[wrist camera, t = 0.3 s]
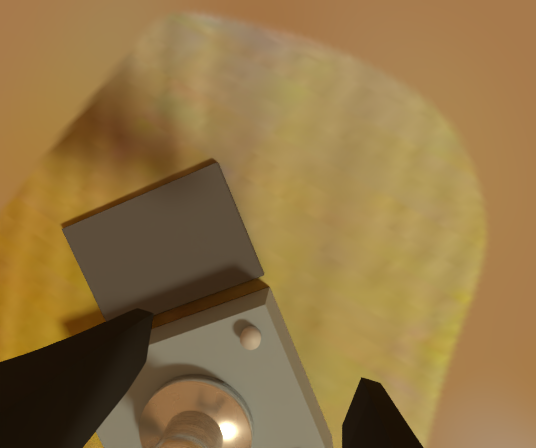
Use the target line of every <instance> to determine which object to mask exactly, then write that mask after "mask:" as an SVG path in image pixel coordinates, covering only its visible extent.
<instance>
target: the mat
mask: <svg viewBox="0 0 536 448" xmlns="http://www.w3.org/2000/svg"><path fill="white" fill-rule="evenodd" d="M62 231H63V233H64V235H65V237H66V239H67V241H68V243H69V245H70V248H71V250H72V252H73V254H74V256H75V258H76V260H77V262H78V264H79V266H80V268H81V270H82V273H83V275H84V277H85V279H86V281H87V283H88V285H89V287H90V289H91V291H92V293H93V295H94V298H95V300H96V302H97V304H98V306H99V308H100V310H101V312H102V314H103V316H104V318H105V320H106V321H109V320H111V319H113V318H115V317H117V316H120V315H122V314H124V313H126V312H129V311H131V310H134V309H136V308H139V309H142V310H145V311H149V312H152V313H154V315H156V314H159V313H162V312H164V311H167V310H170V309H173V308H175V307H178V306H181V305H184V304H186V303H189V302H192V301H195V300H197V299H200V298H203V297H205V296H208V295H211V294H214V293H216V292H219V291H222V290H225V289H227V288H230V287H233V286H236V285H238V284H241V283H244V282H247V281H249V280H252V279H255V278H258V277H260V276H263V275H264V272H263V269H262V267H261V265H260V262H259V260H258V257H257V255H256V253H255V250H254V248H253V245H252V243H251V241H250V238H249V236H248V233H247V231H246V228H245V226H244V224H243V221H242V219H241V216H240V214H239V212H238V209H237V207H236V204H235V202H234V200H233V197H232V195H231V192H230V190H229V187H228V185H227V183H226V180H225V178H224V175H223V173H222V171H221V168H220V166H219V163H217V162H216V163H214V164H212V165H209V166H207V167H205V168H202V169H200V170H198V171H195V172H193V173H191V174H189V175H186V176H184V177H182V178H179V179H177V180H175V181H172V182H170V183H168V184H165V185H163V186H161V187H158V188H156V189H154V190H151V191H149V192H147V193H144V194H142V195H140V196H138V197H135V198H133V199H131V200H128V201H126V202H124V203H121V204H119V205H117V206H114V207H112V208H110V209H107V210H105V211H103V212H100V213H98V214H96V215H93V216H91V217H89V218H87V219H84V220H82V221H80V222H77V223H75V224H73V225H70V226H68V227H66V228H63V229H62Z"/></svg>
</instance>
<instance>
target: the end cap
mask: <svg viewBox="0 0 536 448" xmlns="http://www.w3.org/2000/svg"><path fill="white" fill-rule="evenodd" d="M253 432H254V425H253V418H252V414H251V412H250V409H249V407H248V405H247V403H246V402H245V400H244V399H243V397H242V396H241V395H240V394H239V393H238V392H237V391H236V390H235V389H234V388H233V387H231V386H230V385H229V384H227V383H226V382H224V381H222V380H220V379H218V378H215V377H212V376H208V375H204V374H184V375H180V376H177V377H174V378H172V379H170V380H168V381H166V382H165V383H164V384H162V385H161V386H160V387H159V388H158V389H157V390H156V391H155V393H154V394H153V396H152V397H151V399H150V400H149V402H148V403H147V405H146V406H145V408H144V410H143V412H142V414H141V418H140V422H139V437H140V442H141V446H142V448H251V446H252V440H253Z"/></svg>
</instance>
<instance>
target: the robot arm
mask: <svg viewBox="0 0 536 448" xmlns="http://www.w3.org/2000/svg"><path fill="white" fill-rule="evenodd" d="M153 315H154V313H152V312H149V311H145V310H142V309H139V308H136V309H134V310H131V311H129V312H126V313H124V314H122V315H120V316H117V317H115V318H113V319H111V320H109V321H106V322H104V323H102V324H99V325H97V326H95V327H93V328H90V329H88V330H86V331H83V332H81V333H79V334H76V335H74V336H71V337H69V338H66V339H64V340H61V341H59V342H56V343H53V344H51V345H48V346H46V347H43V348H41V349H38V350H35V351H32V352H30V353H27V354H24V355H21V356H18V357H15V358H12V359H9V360H5V361H2V362H0V448H83V447H84V445H85V444H86V443H87V442H88V440H89V439H90V438H91V437H92V435H93V434H94V433H95V432H96V430H97V429H98V428H99V427H100V425H101V424H102V423H103V422H104V420H105V419H106V418H107V417H108V415H109V414H110V413H111V412H112V410H113V409H114V408H115V407H116V405H117V404H118V403H119V402H120V400H121V399H122V398H123V396H124V395H125V394H126V393H127V391H128V390H129V388H130V387H131V385H132V384H133V382H134V381H135V379H136V378H137V376H138V374H139V373H140V371H141V370H142V368H143V366H144V365H145V363H146V360H147V354H148V347H149V341H150V334H151V328H152V321H153ZM342 448H423V446H422V445H421V443H420V442H419V440H418V439H417V438H416V436H415V435H414V433H413V432H412V430H411V429H410V427H409V426H408V424H407V423H406V421H405V420H404V418H403V417H402V415H401V414H400V412H399V410H398V409H397V407H396V406H395V404H394V403H393V401H392V400H391V398H390V397H389V395H388V394H387V392H386V391H385V389H384V388H383V386H382V385H381V383H378V382H375V381H372V380H369V379H366V378H362V377H361V380H360V382H359V385H358V387H357V390H356V392H355V395H354V397H353V400H352V402H351V405H350V407H349V410H348V412H347V415H346V417H345V420H344V422H343V425H342Z"/></svg>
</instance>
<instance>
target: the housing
mask: <svg viewBox="0 0 536 448" xmlns="http://www.w3.org/2000/svg"><path fill="white" fill-rule="evenodd" d="M184 374H204V375H208V376H212V377H215V378H218V379H220V380H222V381H224V382H226V383H227V384H229V385H230V386H231V387H233V388H234V389H235V390H236V391H237V392H238V393H239V394H240V395H241V396H242V397H243V399H244V400H245V402H246V403H247V405H248V407H249V409H250V412H251V414H252V418H253V425H254V432H253V440H252V446H251V448H333V442H332V436H331V433H330V431H329V429H328V426H327V424H326V421H325V419H324V417H323V414H322V412H321V409H320V407H319V405H318V402H317V400H316V397H315V395H314V392H313V390H312V388H311V385H310V383H309V380H308V378H307V376H306V373H305V371H304V368H303V366H302V364H301V361H300V359H299V356H298V354H297V351H296V349H295V347H294V344H293V342H292V339H291V337H290V335H289V332H288V330H287V327H286V325H285V323H284V320H283V318H282V315H281V313H280V310H279V308H278V306H277V303H276V301H275V298H274V296H273V294H272V291H271V289H270V287H268V288H265V289H262V290H259V291H256V292H254V293H251V294H248V295H245V296H242V297H240V298H237V299H234V300H231V301H228V302H226V303H223V304H220V305H217V306H214V307H212V308H209V309H206V310H203V311H201V312H198V313H195V314H192V315H189V316H187V317H184V318H181V319H178V320H175V321H173V322H170V323H167V324H164V325H161V326H159V327H156V328H153V329H151V334H150V341H149V347H148V354H147V360H146V363H145V365H144V366H143V368H142V370H141V371H140V373H139V374H138V376H137V378H136V379H135V381H134V382H133V384H132V385H131V387H130V388H129V390H128V391H127V393H126V394H125V395H124V396H123V398H122V399H121V400H120V402H119V403H118V404H117V405H116V407H115V408H114V409H113V410H112V412H111V413H110V414H109V415H108V417H107V418H106V419H105V420H104V422H103V423H102V424H101V425H100V427H99V428H98V429H97V430H96V433H97V435H98V437H99V439H100V441H101V443H102V445H103V447H104V448H142V446H141V442H140V437H139V422H140V418H141V414H142V412H143V410H144V408H145V406H146V405H147V403H148V402H149V400H150V399H151V397H152V396H153V394H154V393H155V391H156V390H157V389H158V388H159V387H160V386H161V385H162V384H164V383H165V382H166V381H168V380H170V379H172V378H174V377H177V376H180V375H184Z"/></svg>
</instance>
